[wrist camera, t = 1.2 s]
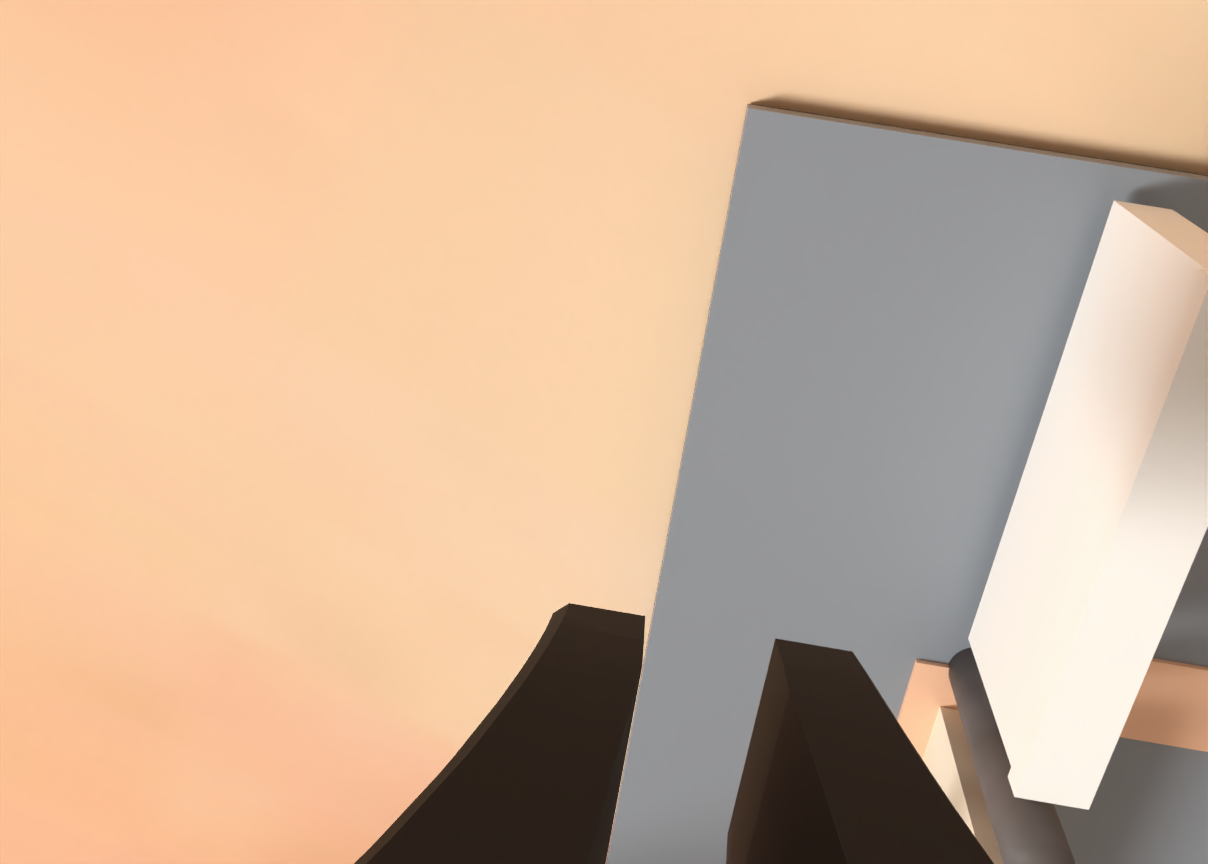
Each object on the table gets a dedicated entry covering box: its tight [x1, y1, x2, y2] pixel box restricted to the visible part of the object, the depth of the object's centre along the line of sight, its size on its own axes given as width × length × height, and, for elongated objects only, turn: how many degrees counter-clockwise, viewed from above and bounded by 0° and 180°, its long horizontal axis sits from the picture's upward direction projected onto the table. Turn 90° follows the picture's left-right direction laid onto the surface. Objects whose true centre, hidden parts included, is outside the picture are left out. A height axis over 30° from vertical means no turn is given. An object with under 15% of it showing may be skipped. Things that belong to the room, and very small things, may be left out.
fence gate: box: [968, 200, 1208, 810], centre depth 15 cm, size 7×1×4 cm, turn 172°
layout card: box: [606, 104, 1208, 864], centre depth 19 cm, size 15×15×1 cm
